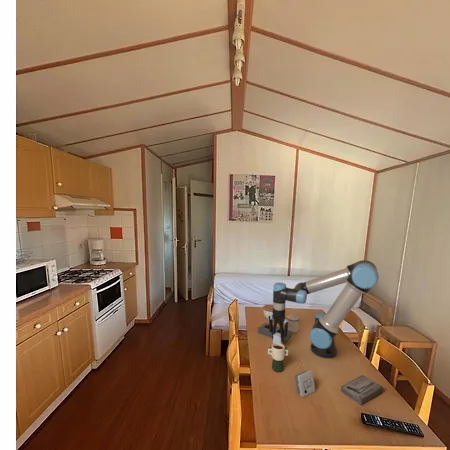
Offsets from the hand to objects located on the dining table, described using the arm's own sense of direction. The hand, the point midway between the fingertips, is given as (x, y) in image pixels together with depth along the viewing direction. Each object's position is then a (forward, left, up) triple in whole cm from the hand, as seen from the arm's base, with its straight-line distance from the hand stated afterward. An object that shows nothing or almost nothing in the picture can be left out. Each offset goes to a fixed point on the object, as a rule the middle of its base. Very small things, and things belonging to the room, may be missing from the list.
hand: (277, 345), depth 159 cm
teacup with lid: (+6, -31, -3) cm, 32 cm away
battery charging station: (+11, -16, -3) cm, 20 cm away
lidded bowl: (+26, -38, -3) cm, 46 cm away
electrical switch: (-27, +24, -3) cm, 36 cm away
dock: (0, 0, -3) cm, 3 cm away
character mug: (-9, +17, -3) cm, 20 cm away
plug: (0, 0, -3) cm, 3 cm away
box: (-48, +6, -4) cm, 49 cm away
